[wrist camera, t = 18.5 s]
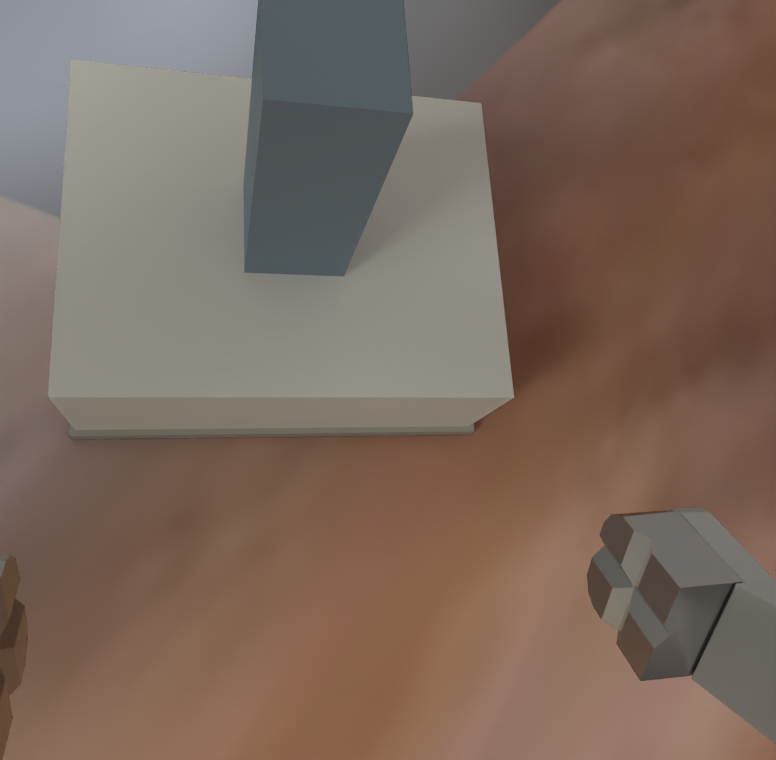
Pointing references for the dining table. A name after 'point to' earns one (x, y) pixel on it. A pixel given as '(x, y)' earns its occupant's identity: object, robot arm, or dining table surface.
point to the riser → (264, 279)
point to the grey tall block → (321, 129)
